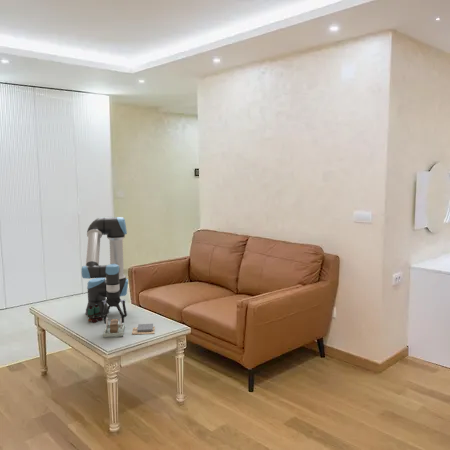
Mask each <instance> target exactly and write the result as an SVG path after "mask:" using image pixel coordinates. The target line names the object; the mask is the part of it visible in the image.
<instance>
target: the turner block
mask: <svg viewBox="0 0 450 450" xmlns="http://www.w3.org/2000/svg"><path fill="white" fill-rule="evenodd" d="M109 323H110V324H109V325H110V333H118V324H119V318H111V320H110V321H109Z"/></svg>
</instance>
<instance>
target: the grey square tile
mask: <svg viewBox="0 0 450 450" xmlns="http://www.w3.org/2000/svg"><path fill="white" fill-rule="evenodd" d="M137 327H138V328H137ZM137 327H136V328H137V332H146V331H153V327H154V323H138V325H137Z"/></svg>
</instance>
